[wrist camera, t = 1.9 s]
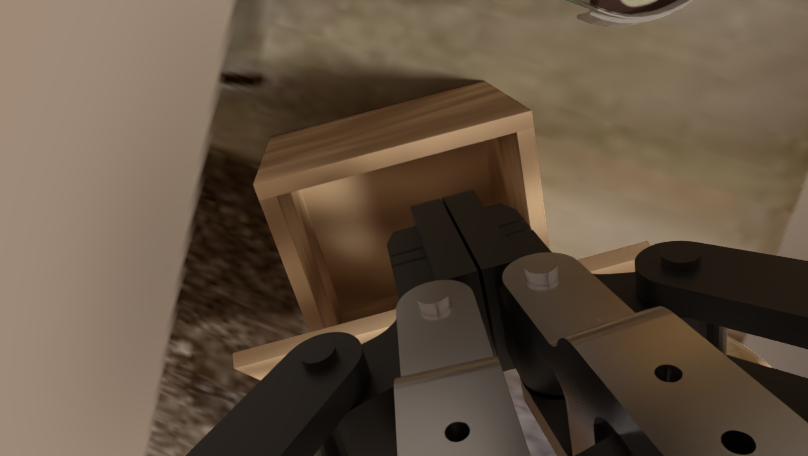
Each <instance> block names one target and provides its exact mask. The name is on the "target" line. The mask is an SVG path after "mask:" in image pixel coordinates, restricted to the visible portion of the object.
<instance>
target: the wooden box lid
mask: <svg viewBox="0 0 808 456" xmlns="http://www.w3.org/2000/svg"><path fill="white" fill-rule="evenodd" d="M649 246H650V244H649V242H648V241H645V242H642V243H638V244H634V245H630V246H627V247H623V248H619V249H616V250H612V251H608V252H605V253H601V254H597V255H594V256H590V257H586V258H583V259H579V260H578V261H579V262H580V263H581V264H582V265H583V266H584V267H586V268H587V269H588V270H589V271H590V272H591V273H592V274H614V273H627V272H635V262H634V261H635V258H636V256H637V255H638V254H639V253H640V252H641V251H642V250H644V249H645V248H647V247H649ZM395 320H396V309H395V310H391V311H387V312H384V313H380V314H376V315H372V316H369V317H365V318H361V319H358V320H354V321H350V322H347V323H343V324H339V325H336V326H332V327H328V328H325V329H321V330H317V331H313V332H310V333H306V334H302V335H299V336H295V337H291V338H288V339H284V340H280V341H277V342H273V343H269V344H266V345H262V346H258V347H255V348H251V349H247V350H243V351H240V352H236V353H233V362H234V369H236V370H239V371H241V372H243V373H245V374H248V375H250V376H252V377H254V378H257V379H259V380H262V379H263V378H264V377H265V376H266V375H267V374H268V373H269V372H270V371H271V370H272V369H273V368H274V367H275V366H276V365H277V364H278V363H279V362H280V361H281V360H282V359H283V358H284V357H285V356H286V355H287V354H288V353H289V352H290V351H291V350H292V349H293V348H294V347H296V346H297V345H298V344H300V343H302V342H303V341H305V340H307V339H309V338H311V337H314V336H316V335H319V334H323V333H329V332H345V333H349V334H351V335H353V336H355V337H356V338H357V339H358V340H359V341H360V343H361V344H363V343H365V342H367V341H369V340H371V339H373V338H374V337H376V336H378V335H380V334H381V333H383V332H384V331H385V330H387V329H388V328H389V327H390V326H391V325H392V324H393V323H394V321H395Z"/></svg>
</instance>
